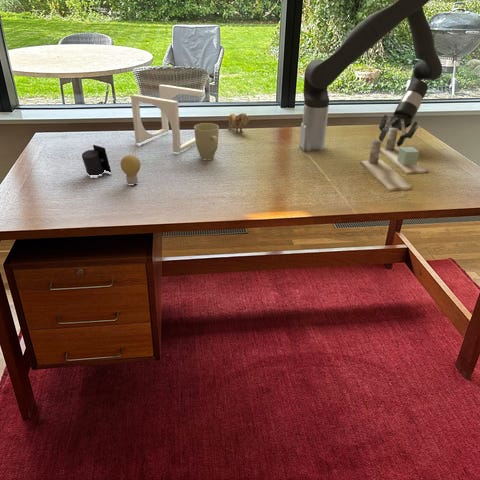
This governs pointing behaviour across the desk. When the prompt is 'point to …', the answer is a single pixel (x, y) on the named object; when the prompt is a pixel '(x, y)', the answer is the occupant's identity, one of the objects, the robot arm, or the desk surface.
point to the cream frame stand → (163, 114)
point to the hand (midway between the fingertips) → (389, 142)
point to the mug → (206, 139)
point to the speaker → (96, 160)
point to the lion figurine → (238, 121)
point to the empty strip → (384, 170)
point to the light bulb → (131, 168)
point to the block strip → (393, 152)
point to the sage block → (408, 156)
